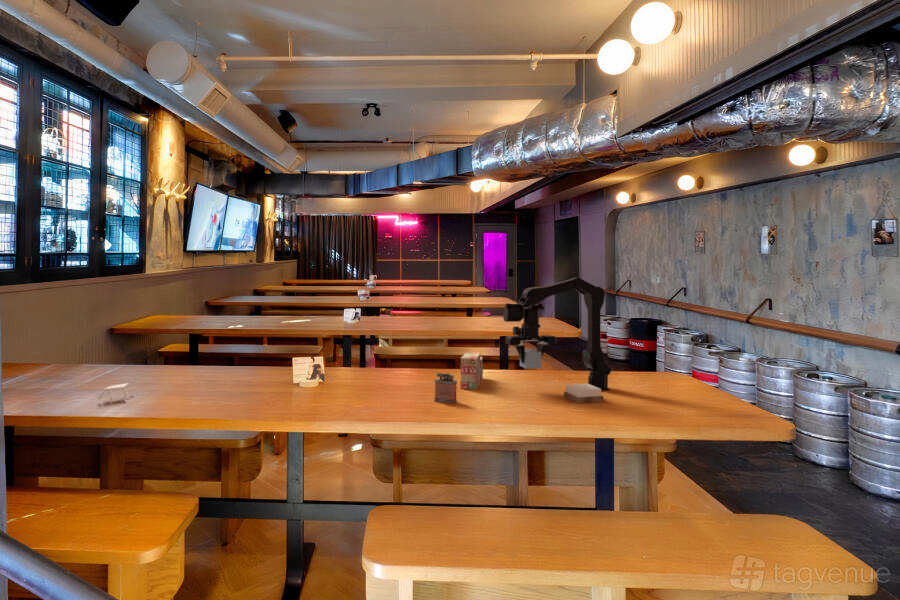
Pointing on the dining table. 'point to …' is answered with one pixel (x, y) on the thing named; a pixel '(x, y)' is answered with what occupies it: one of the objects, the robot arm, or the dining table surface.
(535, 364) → the slate block
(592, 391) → the tower top
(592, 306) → the robot arm
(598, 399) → the tower bottom
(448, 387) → the lighter
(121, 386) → the origami figure
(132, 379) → the dining table surface
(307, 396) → the dining table surface
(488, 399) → the dining table surface
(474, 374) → the printed cardboard box
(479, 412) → the dining table surface
